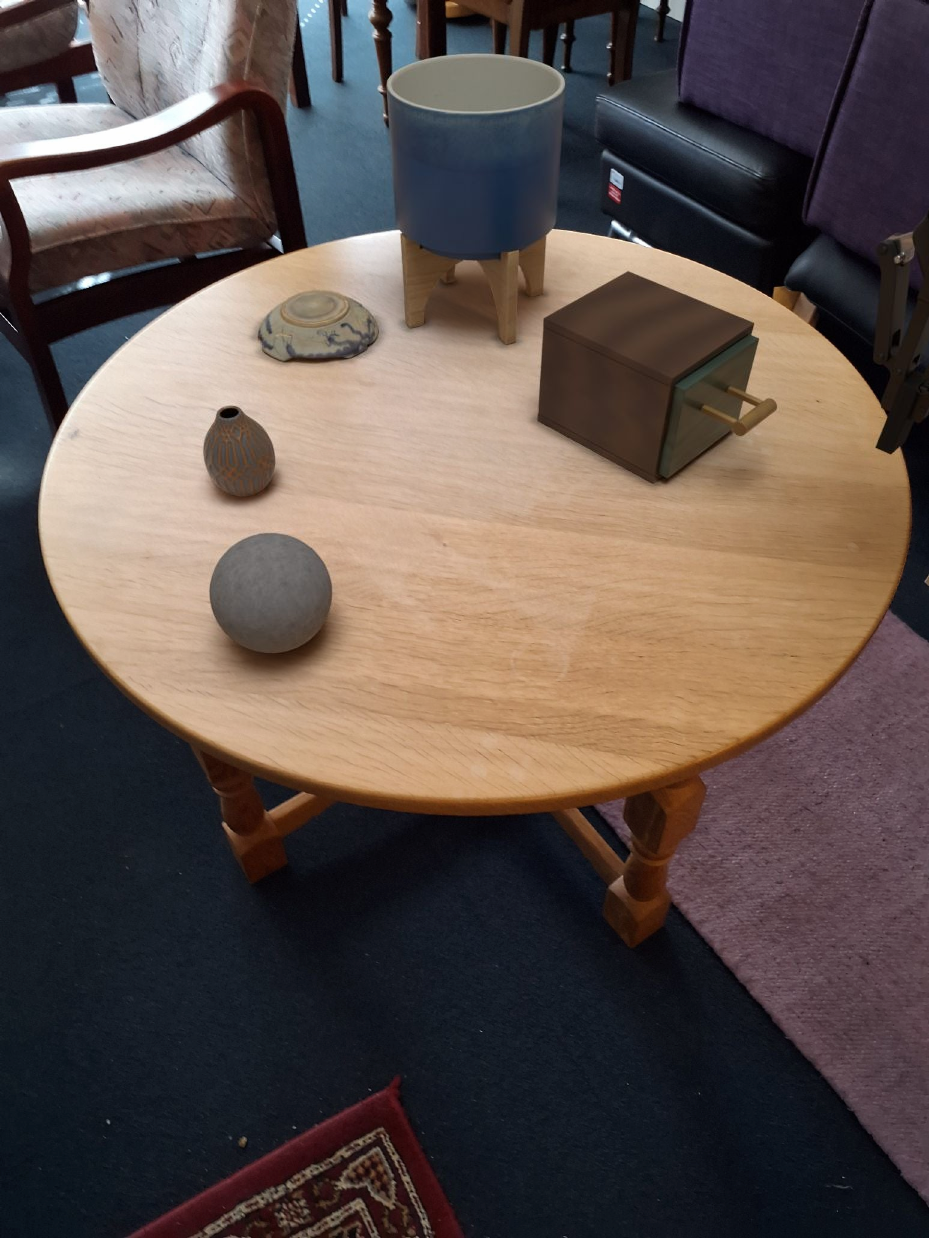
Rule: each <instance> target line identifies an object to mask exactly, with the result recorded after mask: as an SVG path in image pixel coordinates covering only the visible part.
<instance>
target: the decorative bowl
mask: <svg viewBox="0 0 929 1238" xmlns="http://www.w3.org/2000/svg"><path fill="white" fill-rule="evenodd" d="M378 335H379V325H378V321H377V320H376V319H375V317H374V315H372V313H371V312H370V311H369V309H367V308H366V307H365V306H363V304H362V303H360V302H358V301H357V300H355V299H353V298H351V297H348V296H346V295H343V294H341V293H339V292H337V291H332V290H326V289H316V290H306V291H302V292H299V293H295V294H293V295H291V296H290V297H288V298H287V299H285V300H284V301H282V302H280V303H278V304H277V305H276V306H275V307H273V308H272V309H271V310H270V311H269V312H268V313H267V314H266V316H265V317H264V319H263V320H262V322H261V323H260V326H259V328H258V330H257V337H259V338H261V346H262V347H261V349H262V351H263V352H264V353H265V354H267V355H268V356H269V357H271V358H275V359H276V360H278V361H281V362H284V363H285V362H286V361H288V360H290V359H293V358H295V359H297V358H303V359H304V358H305V359H328V358H344V359H352V358H353V357H355V356H358V355H360V354H361V353H363V352H364V351H365V350H367V349H368V345H371V344H372V343H374V342H375V341H376V340H377V338H378Z"/></svg>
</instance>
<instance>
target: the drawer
mask: <svg viewBox="0 0 929 1238" xmlns="http://www.w3.org/2000/svg"><path fill="white" fill-rule="evenodd" d="M759 341H760V338H759V337H757V336H756V335H755V336H754V335H750V334H749V335H748V336H746V337H745V338H743V339H742V340H740V341H739V342H737V343H736V344H734V345H733V346H731V347H730V348H729V347H728V348H727V349H725V350H724V351H722V352H721V353H719V354H718V355H717V356H715V357H714V358H712V359H711V360H709V361H708V362H706V363H705V364H703V365H702V366H700V367H699V368H697V369H696V370H695V371H694V372H693V373H692V374H690V375H689V376H687V377H686V378H685V379H683V380H682V381H680V382H679V383H677V384H676V385H675V387H674V392H673V398H672V403H671V408H670V414H669V419H668V424H667V430H666V435H665V440H664V446H663V451H662V456H661V461H660V467H659V472H658V473H659V474H660V475H662V477H664V478H666V479H669V478H670V477H672V476H673V475H674V474H675V473H677V472H678V471H679V470H681V469H682V468H683V467H684V466H686V465H687V464H688V463H690V462H691V461H692V460H693V459H695V458H696V457H698V456H699V455H700V454H701V453H703V452H705V451H706V450H707V449H708V448H710V447H711V446H712V445H714V444H715V443H717V441H719V440H720V439H722V438H723V437H724V436H725V435H727V434H728V433H729V432H731V431H732V432H733V434H735V435H736V436H738V437H744V436H745V435H747V434H748V433H749V432H750V431H753V429H755V428H756V427H757V426H758V425H760V424H761V423H762V422H764V421H765V420H766V419H767V418H769V417H770V416H771V415H772V414H773V413H775V412H776V411H777V409H778V404H777V401H775V399H773V398H771V397H768V398H766V399H764V400H762V399H760V398H758V397H756V396H754V395H752V394H749V393H747V389H748V385H749V381H750V376H751V373H752V369H753V365H754V362H755V357H756V353H757V349H758V346H759ZM744 402H745V403H747V404H750V405H751V406H753V408H752V409H750V410H749V411H748V412H747V413H745V414H744V415H743V416H742V417H740V415H741V412H742V407H743V403H744Z"/></svg>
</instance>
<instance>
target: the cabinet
mask: <svg viewBox="0 0 929 1238" xmlns="http://www.w3.org/2000/svg"><path fill="white" fill-rule="evenodd" d="M542 325H543V326H542V341H541V358H540V374H539V375H540V376H539V390H538V407H537V421H538V422H540V423H541V424H543V425H544V426H547V427H549V428H551V429H552V430H554V431H556V432H558V433H560V434H562V435H564V437H567V438H569V439H570V440H572V441H575V442H577V444H580V445H582V446H583V447H585V448H587V449H589V450H591V451H593V452H595V453H596V454H598V455H600V456H602V457H603V458H606V459H608V460H609V461H611V462H613V463H614V464H617V465H618V466H621V467H622V468H623V469H625V470H628V471H629V472H631V473H633V474H635V475H637V476H638V477H641V478H643V479H644V480H646V481H648V482H650V483H652V484H654V483H655V482H657V481H658V480H659V479H661V478H662V477H663V476H662V475H660V474H659V473H658V472H659V467H660V461H661V456H662V451H663V446H664V440H665V435H666V430H667V424H668V419H669V414H670V408H671V403H672V398H673V392H674V387H675V385H676V383H677V382H678V381H680V380H681V379H683V378H684V377H686V376H687V375H689V374H690V373H692V372H693V371H695V370H696V369H697V368H699V367H700V366H702V365H703V364H705V363H706V362H708V361H709V360H711V359H712V358H714V357H715V356H717V355H718V354H719V353H721V352H722V351H724V350H725V349H727V348H728V347H729V348H730V347H731V346H733V345H734V344H736V343H737V342H739V341H740V340H742V339H743V338H745V337H746V336H748V335H749V334H750V335H752V334H753V331H754V327H755V322H753V321H751V320H748V319H746V318H743V317H741V316H739V315H736V314H734V313H732V312H729V311H726V310H724V309H722V308H719V307H717V306H714V305H713V304H710V303H707V302H704V301H703V300H700V299H697V298H694V297H692V296H690V295H688V294H685V293H683V292H680V291H678V290H675V289H673V288H670V287H669V286H666V285H663V284H662V283H658V282H656V281H653V280H651V279H649V278H646V277H645V276H642V275H639V274H636V273H634V272H631V271H629V270H627V271H625V272H623V273H622V274H620V275H618V276H617V277H615V278H613V279H611V280H609V281H608V282H606V283H604V284H602V285H601V286H599V287H597V288H595V289H592V291H589V292H587V293H586V294H585V295H583V296H581V297H579V298H577V299H575V300H573V301H572V302H570V303H568V304H566V305H565V306H563V307H561V308H559V309H558V310H555V311H553V312H552V313H550V314H548V315H546V316H545V317H543V322H542ZM752 336H753V335H752Z"/></svg>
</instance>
